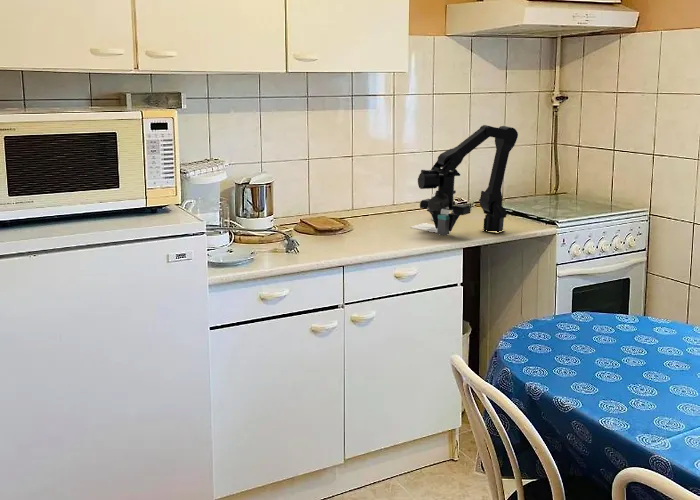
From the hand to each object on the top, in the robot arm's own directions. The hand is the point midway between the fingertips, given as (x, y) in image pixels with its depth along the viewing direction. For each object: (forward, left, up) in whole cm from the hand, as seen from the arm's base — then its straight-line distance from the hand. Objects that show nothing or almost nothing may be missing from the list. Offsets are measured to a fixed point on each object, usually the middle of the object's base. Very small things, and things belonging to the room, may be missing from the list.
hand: (443, 229), depth 283 cm
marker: (0, 0, -2) cm, 2 cm away
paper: (+9, -5, -2) cm, 10 cm away
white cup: (+15, -21, -2) cm, 26 cm away
